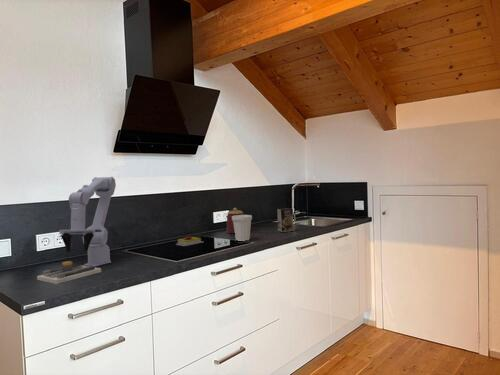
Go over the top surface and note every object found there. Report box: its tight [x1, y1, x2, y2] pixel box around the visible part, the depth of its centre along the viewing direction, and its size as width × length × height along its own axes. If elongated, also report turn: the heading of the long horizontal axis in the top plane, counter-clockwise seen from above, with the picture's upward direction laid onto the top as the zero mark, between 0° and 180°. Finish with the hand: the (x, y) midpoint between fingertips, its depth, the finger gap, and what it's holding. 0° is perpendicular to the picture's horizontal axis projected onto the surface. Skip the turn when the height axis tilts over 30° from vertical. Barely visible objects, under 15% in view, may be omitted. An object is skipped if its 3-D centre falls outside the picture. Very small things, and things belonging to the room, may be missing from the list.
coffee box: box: [276, 208, 294, 232], centre depth 251 cm, size 9×6×16 cm
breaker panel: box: [36, 263, 102, 285], centre depth 155 cm, size 20×14×3 cm
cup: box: [232, 214, 253, 241], centre depth 222 cm, size 12×12×15 cm
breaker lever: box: [61, 260, 73, 273], centre depth 154 cm, size 3×3×4 cm
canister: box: [225, 207, 244, 234], centre depth 257 cm, size 13×13×18 cm
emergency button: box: [175, 236, 203, 247], centre depth 222 cm, size 9×4×15 cm
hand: (77, 251), depth 158 cm, fingers open, 7 cm apart
